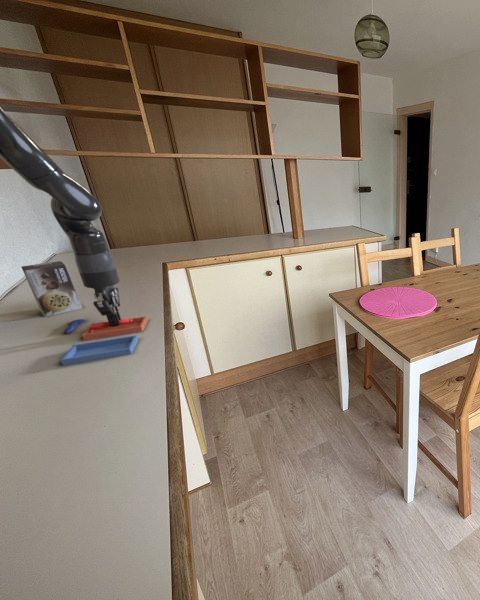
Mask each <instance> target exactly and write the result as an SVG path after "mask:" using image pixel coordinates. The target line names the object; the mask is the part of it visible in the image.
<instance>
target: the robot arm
mask: <svg viewBox="0 0 480 600" xmlns="http://www.w3.org/2000/svg"><path fill="white" fill-rule="evenodd" d="M0 159H2V161H3V162H5V164H6V165H7V166H8V167H10V168H11V169H12V170H13V171H14V172H15V173H16V174H18V175H19V177H21V178H22V179H23V180H24V181H25V182H26V183H27V184H28V185H30V186H31V187H33V188H34V189H36V190H38V191H42V192H44V193H46V194H48V195H49V196H50V197H51V199H50V208H51V209H50V210H51V213H52V215H53V216H54V218H55V220H56V221H57V223H58V225H59V226H60V228H61V229H62V231H63V232H64V234H65V235H66V236H67V238H68V241H69V244H70V248H71V249H72V253H73V255H74V260H75V261H74V262H75V265H76V267H77V270H78V273H79V276H80V279H81V281H82V285H83V286H84V288H88V289H93V290H94V293H93V295H94V299H95V300H96V301H95V300H94V301H93V303H92V304H93V306H94V307H95V309H96V310H97V311H98V313H100V315H101V316H102V317H104V316H105V317H106V319H107V322H109V325H110V326H111V327H114V326H119V325H120V322H119V320H122V318H121V315H120V312H119V311H120V307H121V301H120V292H119V288H118V287H114V286H115V285H117V284H119V283H120V277H119V273H118V271H117V268H116V265H115V261H114V257H113V256H112V255H111V252H110V249H109V245H108V242H107V240H106V237H105V234H104V233H103V232H102V231H101V230H99V229H97V228H95V227H94V225H93V223H92V222H94V221H97V220H98V219H99V218H101V216H102V213H103V208H102V205H101V203H100V201H99V200H98V199H97V198H96V197H95V195H93V193H91V192H90V191H89V190H88V189H87V188H85V187H84V186H83V185H82V184H80V183H79V182H77V180H75V179H73V178H72V177H71V176H69V175H68V174H67V173H65V172H64V171H63V170H62V169H61V167H60V166H58V164H57V163H56V162H55V161H54V160H53V159H52V158H51V157H50V156H49V155H48V154H47V153H46V152H45V151H44V150H43V149H42V148H41V147H40V146H39V145H38V144H37V143H36V142H35V141H34V140H33V139H32V138H31V137H30V136H29V135H28V134H27V133H26V132H25V131H24V130H23V129H22V127H20V126H19V125H18V124H17V122H15V121H14V120H13V119H12V118H11V117H10V115H8V113H6V111H5V110H4V109H3V108H2V107H1V106H0Z"/></svg>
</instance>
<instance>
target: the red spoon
mask: <svg viewBox="0 0 480 600" xmlns="http://www.w3.org/2000/svg"><path fill="white" fill-rule="evenodd" d="M123 319H124V320H123ZM123 319H121V320H119V322H120V325H122V324H129V323H132V322H133V320H132V319H130V318H123ZM94 323H95V324H93V323H91V324H92V325H91V324H90V325H89V327H90V329H91V330H99V329H102V328H104V327H107V326H110V325H109V322H108V321H101V322H94ZM89 327H88V328H89Z"/></svg>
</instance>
